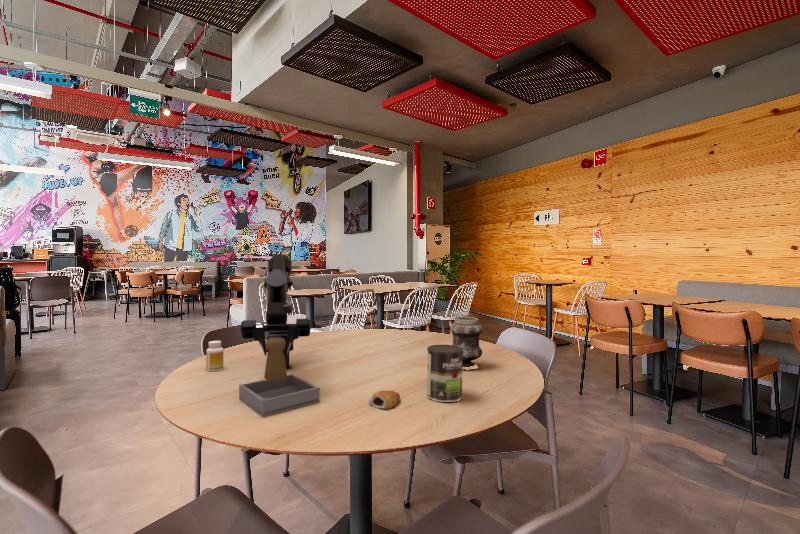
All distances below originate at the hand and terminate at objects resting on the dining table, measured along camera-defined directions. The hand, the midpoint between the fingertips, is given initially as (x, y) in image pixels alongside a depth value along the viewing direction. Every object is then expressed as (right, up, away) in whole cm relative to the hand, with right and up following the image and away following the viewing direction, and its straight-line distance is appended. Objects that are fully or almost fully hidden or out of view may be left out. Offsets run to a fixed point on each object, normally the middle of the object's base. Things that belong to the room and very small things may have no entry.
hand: (275, 354), depth 110 cm
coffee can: (+47, -14, +7) cm, 49 cm away
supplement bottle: (-31, -12, +31) cm, 45 cm away
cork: (-1, -7, +2) cm, 7 cm away
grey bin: (0, -13, +2) cm, 13 cm away
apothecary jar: (+58, -13, +38) cm, 70 cm away
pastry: (+30, -14, +1) cm, 33 cm away
